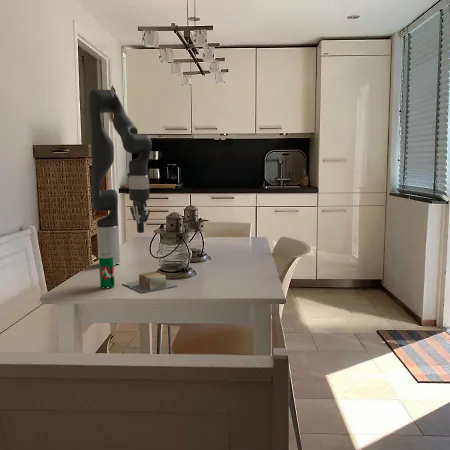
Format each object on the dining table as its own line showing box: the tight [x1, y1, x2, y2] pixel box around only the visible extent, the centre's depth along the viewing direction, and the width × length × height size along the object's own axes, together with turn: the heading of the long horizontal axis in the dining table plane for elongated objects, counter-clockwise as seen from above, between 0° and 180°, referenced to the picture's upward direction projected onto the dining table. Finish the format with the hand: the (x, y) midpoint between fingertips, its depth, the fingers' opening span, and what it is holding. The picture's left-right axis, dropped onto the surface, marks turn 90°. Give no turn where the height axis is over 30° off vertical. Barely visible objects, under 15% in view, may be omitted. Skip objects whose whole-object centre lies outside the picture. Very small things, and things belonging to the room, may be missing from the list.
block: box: [138, 271, 167, 289], centre depth 172 cm, size 4×6×9 cm
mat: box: [126, 280, 178, 293], centre depth 174 cm, size 16×14×1 cm
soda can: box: [98, 253, 116, 289], centre depth 172 cm, size 5×5×12 cm
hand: (140, 232), depth 184 cm, fingers closed
